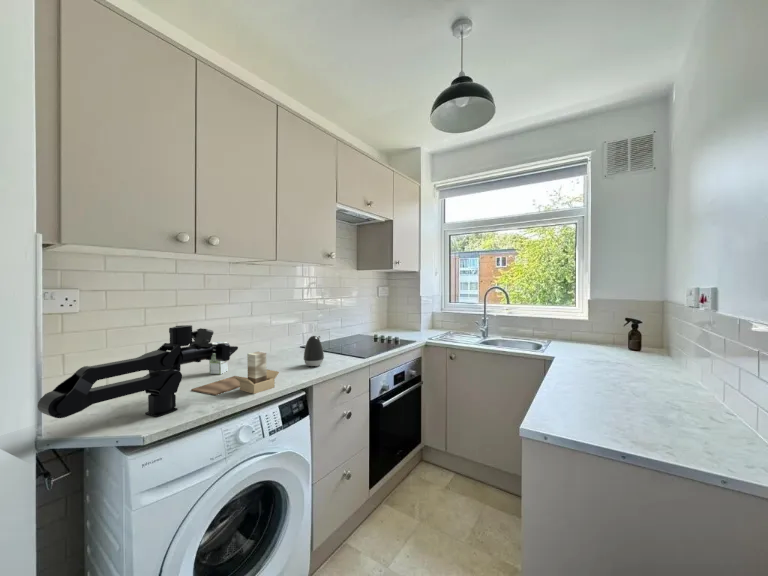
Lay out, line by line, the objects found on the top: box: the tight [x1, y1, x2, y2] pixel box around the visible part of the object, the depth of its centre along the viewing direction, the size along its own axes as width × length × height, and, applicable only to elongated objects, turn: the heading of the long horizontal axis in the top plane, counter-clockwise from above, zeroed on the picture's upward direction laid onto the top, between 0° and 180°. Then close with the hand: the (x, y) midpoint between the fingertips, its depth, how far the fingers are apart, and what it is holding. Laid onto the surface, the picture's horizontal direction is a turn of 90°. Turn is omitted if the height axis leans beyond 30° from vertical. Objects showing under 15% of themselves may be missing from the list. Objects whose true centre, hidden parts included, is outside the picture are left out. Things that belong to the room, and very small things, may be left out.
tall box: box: [246, 351, 268, 384], centre depth 125 cm, size 5×5×14 cm
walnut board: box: [190, 375, 248, 396], centre depth 129 cm, size 20×14×1 cm
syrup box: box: [208, 341, 229, 375], centre depth 149 cm, size 6×6×14 cm
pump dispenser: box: [303, 335, 325, 367], centre depth 161 cm, size 10×10×15 cm
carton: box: [234, 368, 280, 395], centre depth 125 cm, size 14×9×6 cm, turn 147°
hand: (229, 347), depth 125 cm, fingers open, 9 cm apart
